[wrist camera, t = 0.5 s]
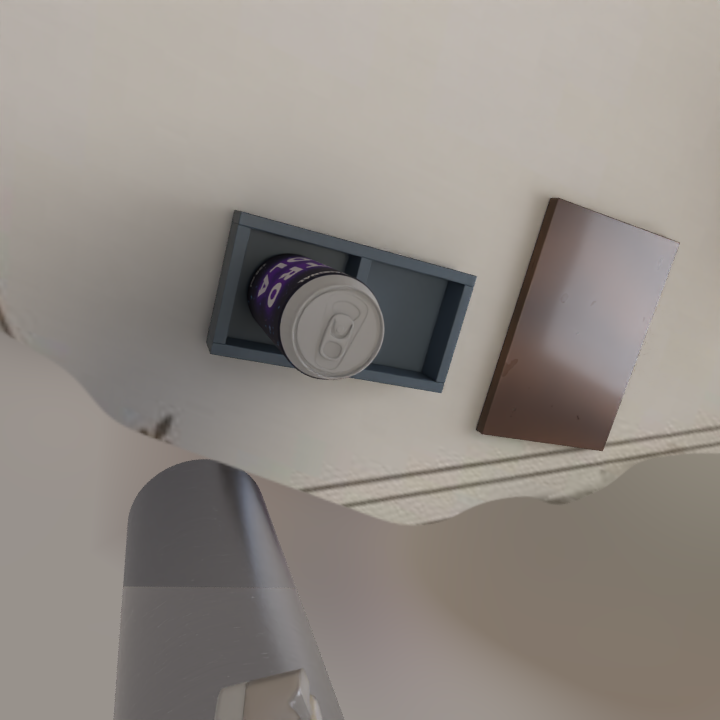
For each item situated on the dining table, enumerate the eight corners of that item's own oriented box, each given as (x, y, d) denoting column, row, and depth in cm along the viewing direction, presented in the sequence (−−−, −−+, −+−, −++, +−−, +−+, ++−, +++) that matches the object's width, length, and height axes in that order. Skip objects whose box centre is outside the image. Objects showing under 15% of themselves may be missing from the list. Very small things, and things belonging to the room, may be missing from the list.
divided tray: (424, 381, 45) (441, 393, 42) (206, 342, 38) (210, 354, 35) (456, 271, 43) (477, 276, 40) (234, 209, 36) (241, 211, 34)
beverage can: (337, 269, 39) (408, 298, 28) (309, 343, 40) (367, 399, 29) (261, 239, 37) (308, 258, 26) (233, 318, 38) (266, 369, 27)
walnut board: (595, 447, 53) (603, 451, 52) (475, 429, 48) (481, 434, 47) (670, 241, 50) (680, 242, 49) (550, 197, 44) (558, 197, 43)
